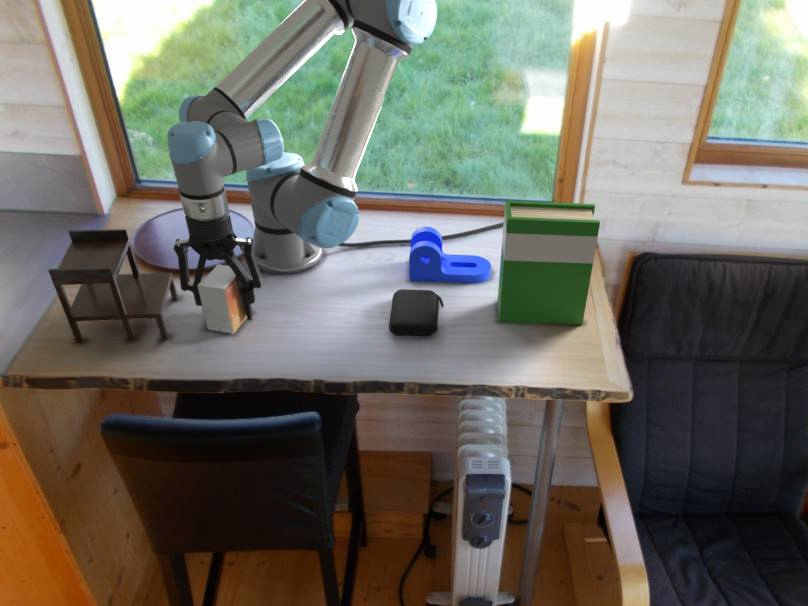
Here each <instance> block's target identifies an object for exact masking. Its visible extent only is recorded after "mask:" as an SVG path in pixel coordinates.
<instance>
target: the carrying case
mask: <svg viewBox="0 0 808 606" xmlns="http://www.w3.org/2000/svg"><path fill="white" fill-rule="evenodd" d="M440 307H441V308H444V301H443V299H442V297H441V296H440V295H438V294H437V293H436V292H435V291H434V290H431V289H414V288H413V289H410V288H400V289H397V290H396V291H395V292H394V293H393V295H392V300H391V308H390V314H389V315H390V316H389V323H388V330H389V332H390V333H391V334H392V335H394V336H395V337H417V338H419V337H420V338H421V337H422V338H423V337H424V338H428V337H432V336H433V335H434V334H436V333H437V332H438V323H439V309H440Z"/></svg>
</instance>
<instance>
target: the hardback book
mask: <svg viewBox="0 0 808 606" xmlns="http://www.w3.org/2000/svg"><path fill="white" fill-rule="evenodd" d="M595 210H596V204H595V203H579V202H578V203H577V202H555V201H531V200H530V201H528V200H506V199H505V200H504V210H503V211H504V213H503V222H504V224H503V226H502V236H501V237H502V238H501V251H500V265H499V278H498V289H497V291H498V293H497V312H498V322H499V323H510V324H546V325H549V324H551V325H553V324H554V325H583V323H584V318H585V312H586V307H587V301H588V294H589V289H590V283H591V278H592V271H593V265H594V261H595V255H596V250H597V242H598V238H599V231H600V226H601V222H600V221H601V220H599V219H595V217H594V215H595Z"/></svg>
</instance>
